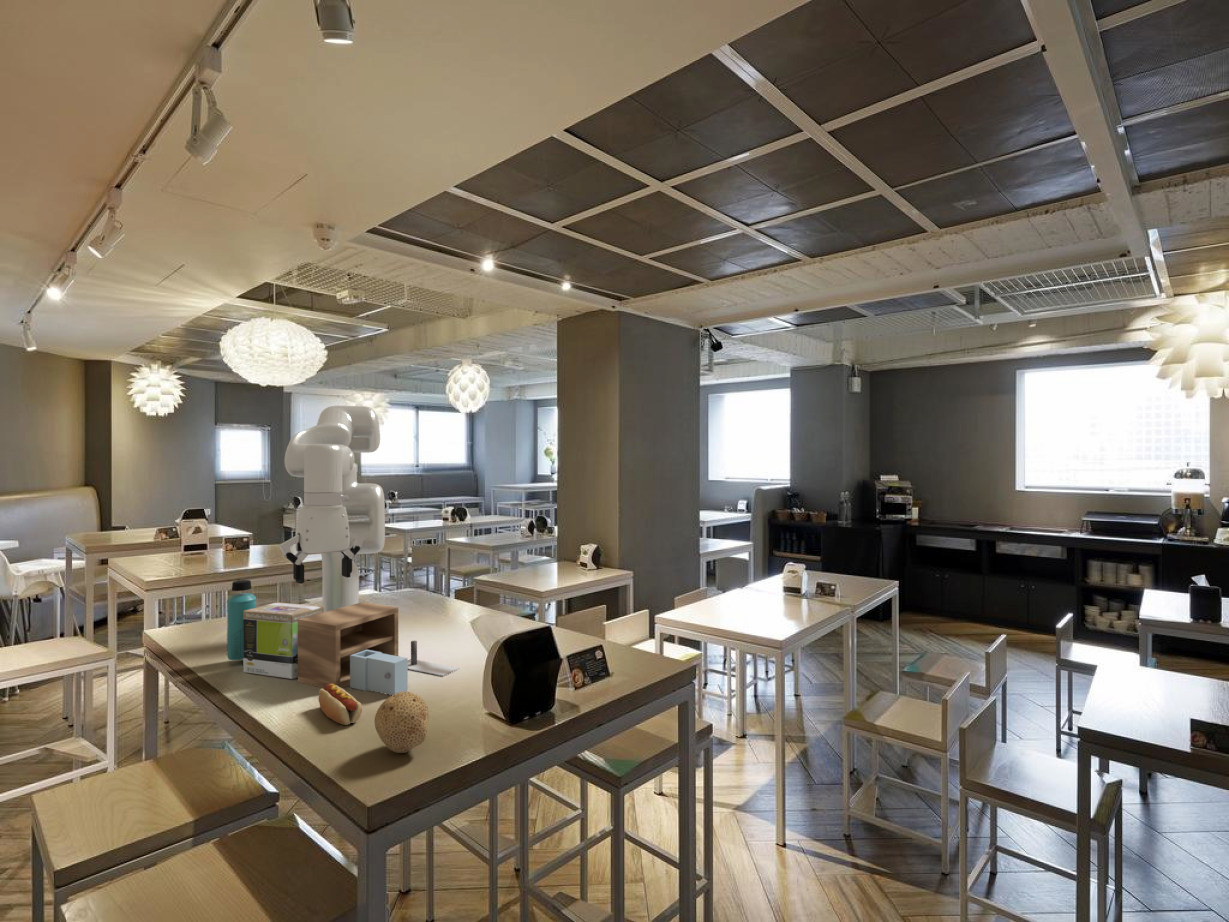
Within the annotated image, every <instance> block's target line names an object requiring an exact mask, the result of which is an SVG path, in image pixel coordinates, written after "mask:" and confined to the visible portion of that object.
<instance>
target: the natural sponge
mask: <svg viewBox="0 0 1229 922" xmlns="http://www.w3.org/2000/svg"><path fill="white" fill-rule="evenodd" d="M429 721H430V710H429V707H428V704H427V703H426V701H425V699H423V698H422V697H421V696H419V695H418V694H416V693H414V692H411V691H405V692H398V693H396V694H394V695H392V696H391V695H389V697H387V698H386V699H385V700H384V701H383V702H382V703H381V704H380V705H379V707H378V709H377V711H376V713H375V716H374V728H375V730H376V733H377V734H378V737H379V739H380V741H382V743H383V744H384V745H385V746H386V748H388V749H389V750H390V751H392V752H394V753H397V754H405V753H407V752H410V751H411V750H412V749H414V748H416V747H419V746H420V745H422V743H424V742H425V741H426V738H427V735H428V731H429Z"/></svg>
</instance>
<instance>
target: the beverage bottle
mask: <svg viewBox="0 0 1229 922" xmlns="http://www.w3.org/2000/svg"><path fill="white" fill-rule="evenodd" d="M251 589H252V582H251V580H249V579H239V580H234V581H232V584H231V591H232V592H242V591H249V590H251ZM226 603H227V605H226V607H227V609H226V611H227V614H226V616H227V617H226V618H227V621H226V622H227V624H226V625H227V628H226V631H227V632H226V656H227V658H228V660H230V661H243V611H245V610H249V609H253V608H257V596H255V595H254V594H253V593H251V592H243V593H235V594H232V595H231V596H230V597H228V599H227V600H226Z"/></svg>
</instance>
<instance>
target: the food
mask: <svg viewBox="0 0 1229 922" xmlns="http://www.w3.org/2000/svg"><path fill="white" fill-rule="evenodd" d="M317 699H318V702H319V704H318V705H319V708H320V709H321V710H322V712H323V713H324V714H325V716H326V717H327V718H329V719H331V721H334V722H335V723H338V724H340V725H343V724H344V725H343V726H348V725H347V724H349V725H351V724H350V723H353V724H355V723H356V722H358V720H359V719H360V718H361V715H362V713H363V707H362V703H361V702H360V701H358V700H357V699H356V698H355V696H353V695H352V694H350V693H349V692H348V691H347V690H345V689H344V688H340V687H339V686H337V685H334V684H327V685H326V686H325V687H324V688H320V689H319V690H318V698H317Z"/></svg>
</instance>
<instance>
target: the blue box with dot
mask: <svg viewBox="0 0 1229 922" xmlns="http://www.w3.org/2000/svg"><path fill="white" fill-rule="evenodd" d="M408 660H409V659H408V657H402V656H399V655H398V656H394V655H388V654H383V653H382V652H378V651H372V650H364V651H361V652H358V653H355V654H352V655H350V685H349V688H351V689H354V690H361V691H364V692H366V691H369V690H372V691H371V692H373V691H376V692H375V693H378V692H382V693H386V694H385V695H387V694H389V695H388V696H391V695H394V694H396V693H398V692H404V691H406V690H408V688H409V687H408V684H409V681H408V671H409V670H408ZM406 692H407V691H406ZM382 693H381V694H382Z"/></svg>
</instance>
